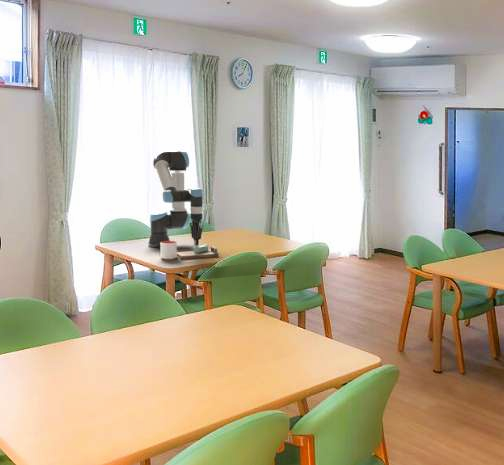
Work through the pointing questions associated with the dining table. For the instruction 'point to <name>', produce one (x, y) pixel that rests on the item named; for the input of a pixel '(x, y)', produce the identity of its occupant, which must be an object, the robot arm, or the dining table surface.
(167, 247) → the cup
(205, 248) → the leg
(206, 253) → the brown tray
